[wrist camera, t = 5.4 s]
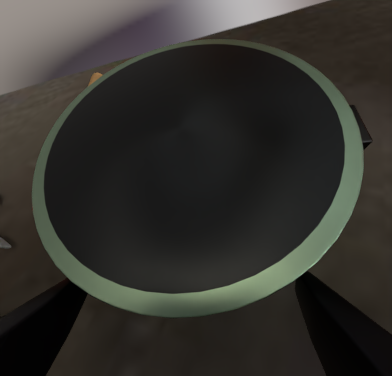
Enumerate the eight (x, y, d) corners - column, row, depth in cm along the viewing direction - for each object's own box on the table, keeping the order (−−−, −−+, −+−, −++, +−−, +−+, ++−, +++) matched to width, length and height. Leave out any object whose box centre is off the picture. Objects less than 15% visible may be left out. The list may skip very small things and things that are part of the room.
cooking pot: (337, 298, 13) (505, 327, 5) (90, 296, 15) (-53, 313, 7) (286, 119, 20) (322, 15, 12) (123, 137, 22) (68, 61, 14)
